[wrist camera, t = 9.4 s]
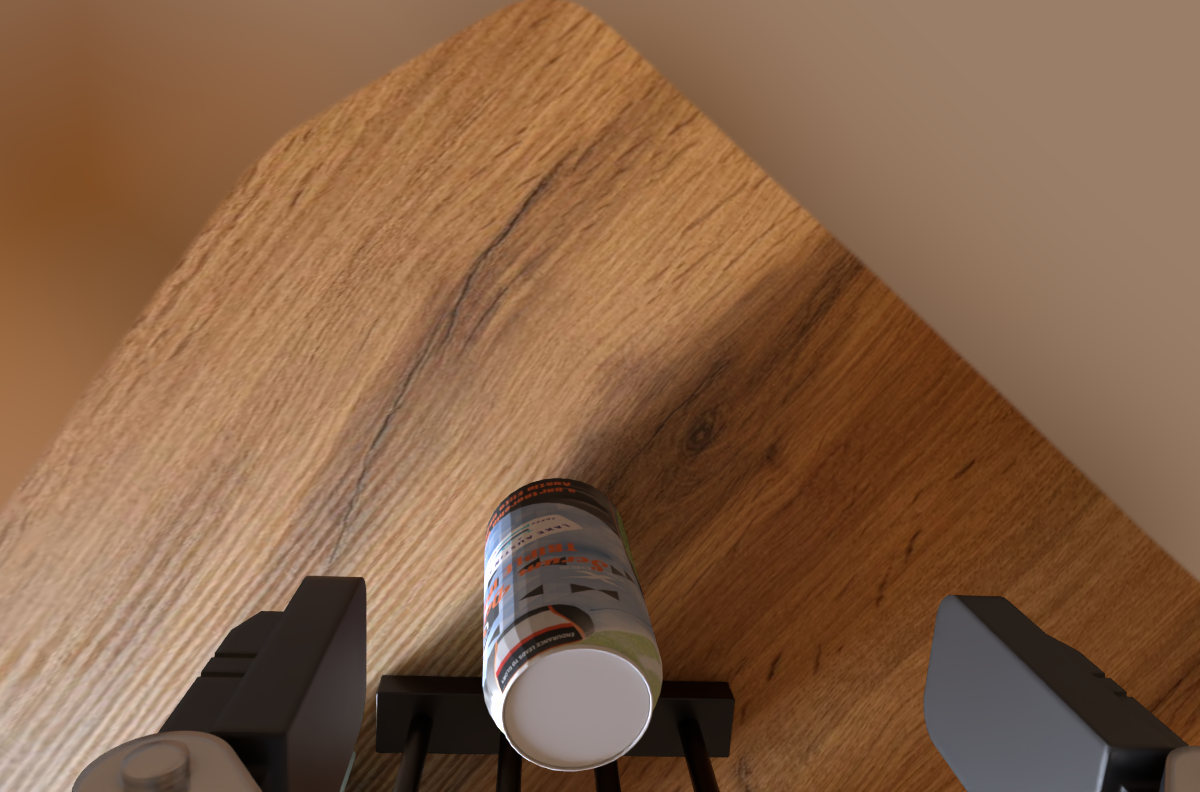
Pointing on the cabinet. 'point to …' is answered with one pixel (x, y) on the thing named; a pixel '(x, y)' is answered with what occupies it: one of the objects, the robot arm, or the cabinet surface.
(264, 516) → the cabinet surface
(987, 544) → the cabinet surface
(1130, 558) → the cabinet surface
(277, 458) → the cabinet surface
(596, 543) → the beverage can
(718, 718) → the rack
